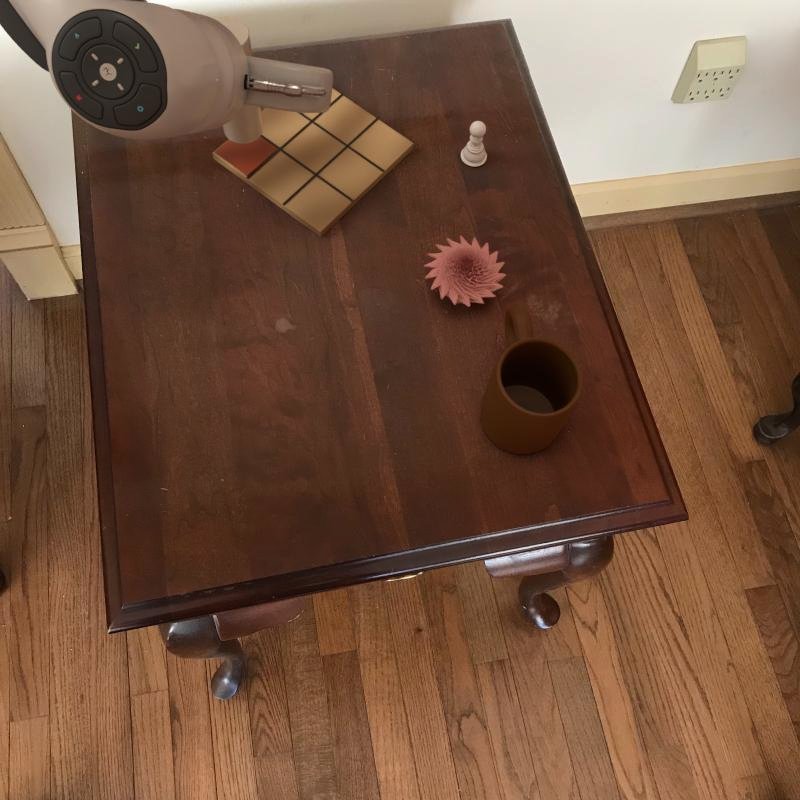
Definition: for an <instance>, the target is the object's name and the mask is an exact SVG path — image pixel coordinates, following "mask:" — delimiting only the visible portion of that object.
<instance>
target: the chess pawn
mask: <svg viewBox="0 0 800 800" xmlns="http://www.w3.org/2000/svg"><path fill="white" fill-rule="evenodd" d="M486 133H487V126H486V124H485V122H483V121H481V120H475V121H473V122H472V123H471V124H470V126H469V134H470V135H469V141H468V142H467V143H466V145H465V146H464V147H463V149H462V150H461V151H460V159H461V161H462V162H463V163H464V164H465V165H466V166H469V167H473V168H475V167H476V168H477V167H480V166H482V165H484V164H485V163H486V161H487V159H488V158H487V157H488V153H487V152H486V148H485V145H484V142H483V140H484V136H485V135H486Z"/></svg>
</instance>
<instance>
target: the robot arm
mask: <svg viewBox="0 0 800 800" xmlns="http://www.w3.org/2000/svg"><path fill="white" fill-rule="evenodd" d="M215 19H216V18H213V17H211V16H208V15H205V14H202V13H198V12H192V11H189V10H184V9H180V8H172V7H170V6H167V5H164V4H159V3H154V2H148V1H147V0H0V26H1V27H2V29H3V30H4V32H5V33H6V34H7V35H8V36H9V37H10V38H11V40H12V42H14V43H15V44H16V45H17V46H18V48H19V49H20V50H22V51H23V53H24V54H25V55H26V56H27V57H28V58H30V59H31V60H32V61H33V62H34V63H35V64H36V65H37V66H38V67H40V68H41V69H43V71H46V72H48V73H49V76H50V79H51V81H52V83H53V86H54V88H55V90H56V92H57V94H59V96H60V97H61V99H62V100H63V102H64V103H65V104H66V105H67V107H68V108H69V109H70V110H71V111H73V113H74V114H75V115H76V116H77V117H78V118H80V119H81V120H82V121H84V122H86V124H87V123H88V124H89V125H91V126H92V127H94V128H95V129H97V130H100V131H103V132H104V133H106V134H109V135H112V136H115V137H117V138H121V139H126V140H132V141H133V140H134V141H157V140H165V139H169V138H171V139H172V138H176V137H179V136H182V135H191V134H192V135H193V134H197V133H203V132H207V131H213V130H215V129H216V130H217V129H219V128H221V127H223V125H224V124H226V123H227V122H229V121H230V120H231V119H232V118H233V117H235V115H236V114H237V113H238V112H239V110H240V109H241V107H242V105H243V104H245V105H251V106H257V107H261V108H263V109H265V108H270V109H277V110H283V111H290V112H299V113H325V112H327V111H328V110H329V108H330V103H331V96H332V88H333V86H334V74H333V71H332V70H331V69H328V68H326V67H321V66H316V65H315V66H314V65H307V64H302V63H294V62H289V61H283V60H276V59H270V58H269V59H268V58H263V57H256V56H253V57H251V56H246V55H245V53H244V50H243V48H242V46H241V44H240V43H239V41H238V40H237V38H236V37H235V36H234V34H233V33H232V32H231V31H230V30H229V29H228V28H227V27H226V26H224V25H223V24H222V23H220V22H219V21H217V20H215Z"/></svg>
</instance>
